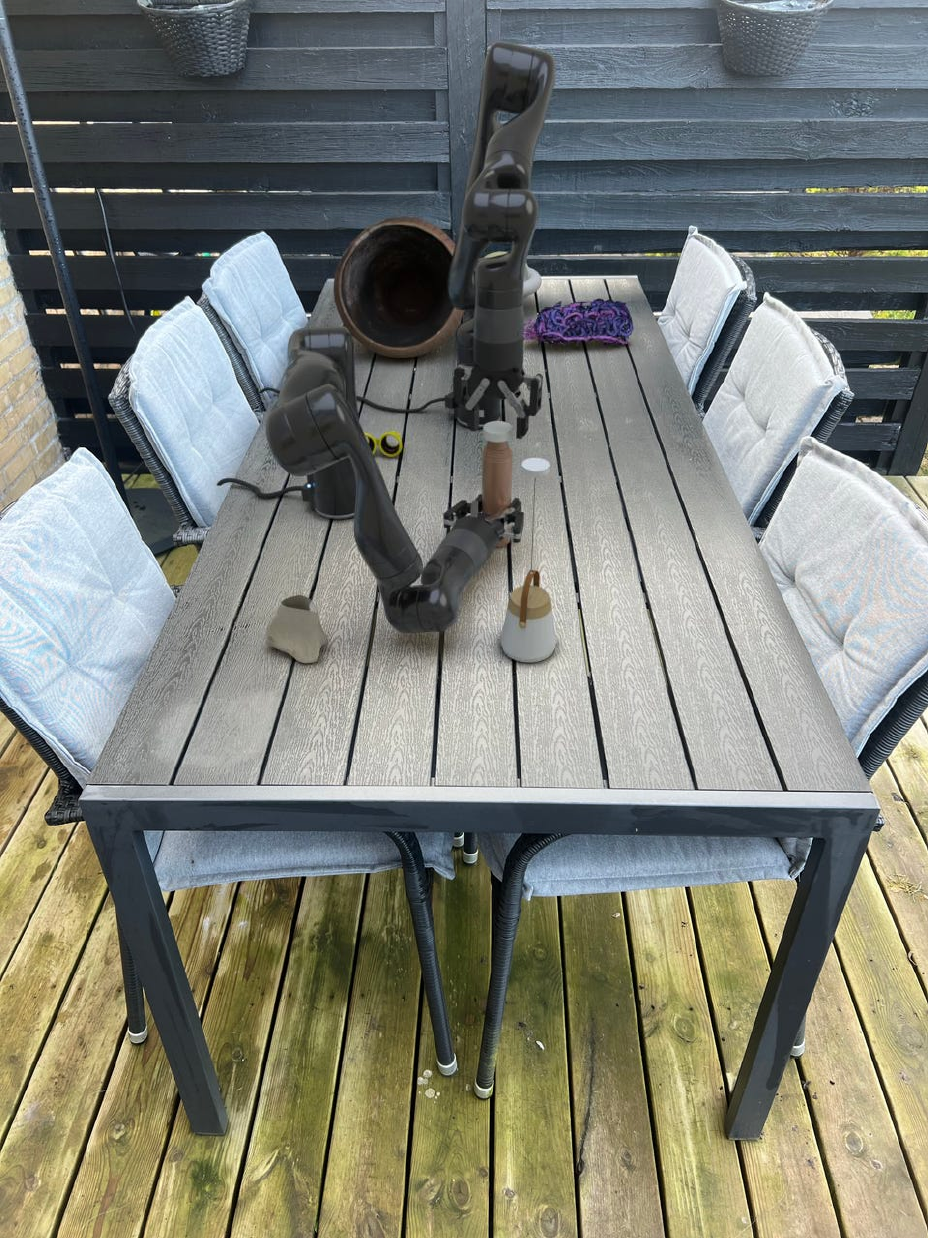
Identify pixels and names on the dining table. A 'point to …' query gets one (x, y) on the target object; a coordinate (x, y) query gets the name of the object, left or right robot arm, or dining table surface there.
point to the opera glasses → (385, 444)
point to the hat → (526, 278)
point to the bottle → (497, 480)
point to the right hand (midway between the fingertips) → (497, 432)
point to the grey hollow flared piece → (297, 629)
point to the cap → (497, 431)
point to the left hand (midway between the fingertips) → (501, 499)
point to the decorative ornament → (582, 323)
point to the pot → (397, 288)
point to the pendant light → (529, 603)
